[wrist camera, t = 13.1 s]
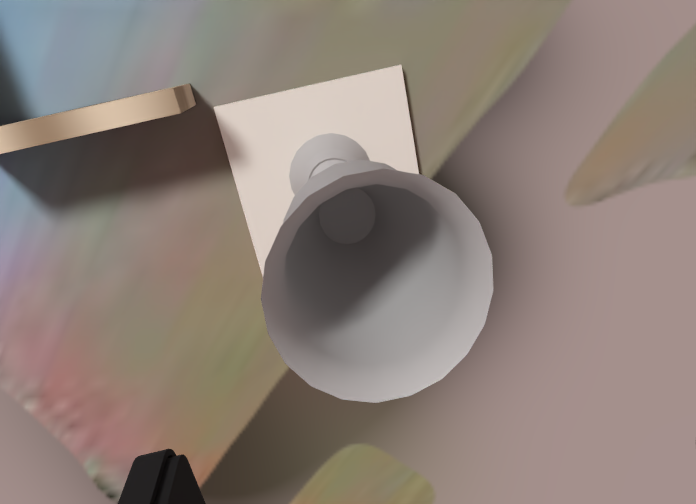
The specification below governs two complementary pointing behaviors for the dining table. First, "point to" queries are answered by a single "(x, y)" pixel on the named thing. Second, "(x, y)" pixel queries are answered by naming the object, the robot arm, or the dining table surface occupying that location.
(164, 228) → the dining table surface
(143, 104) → the cubby
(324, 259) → the chalice
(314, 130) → the mat
